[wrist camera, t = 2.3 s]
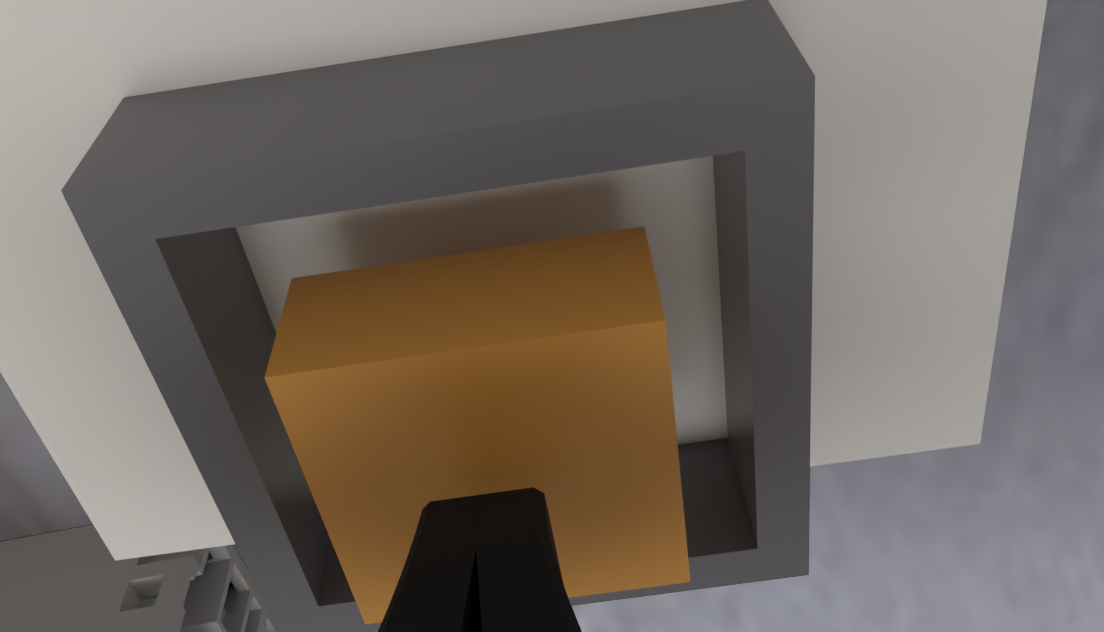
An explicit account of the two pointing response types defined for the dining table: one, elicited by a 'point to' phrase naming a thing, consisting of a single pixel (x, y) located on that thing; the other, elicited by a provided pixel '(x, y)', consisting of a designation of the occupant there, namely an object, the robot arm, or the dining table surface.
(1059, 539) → the dining table surface
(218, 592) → the circuit breaker
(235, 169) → the slider control box
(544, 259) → the button
